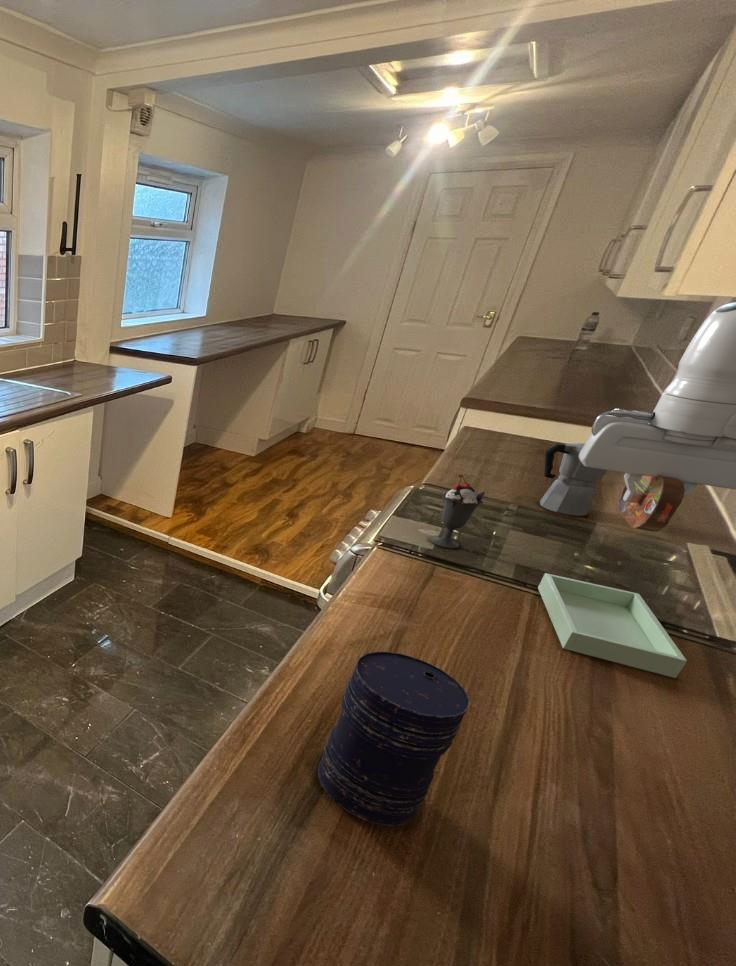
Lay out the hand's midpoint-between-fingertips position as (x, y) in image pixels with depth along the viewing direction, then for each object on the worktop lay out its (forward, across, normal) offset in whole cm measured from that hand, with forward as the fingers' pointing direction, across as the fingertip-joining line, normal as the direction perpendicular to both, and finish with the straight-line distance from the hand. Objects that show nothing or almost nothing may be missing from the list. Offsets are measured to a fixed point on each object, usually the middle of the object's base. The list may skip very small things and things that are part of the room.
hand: (646, 504), depth 91 cm
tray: (+19, 0, -8) cm, 21 cm away
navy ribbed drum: (+19, -31, -65) cm, 75 cm away
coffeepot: (+19, +4, +55) cm, 59 cm away
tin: (+3, 0, 0) cm, 3 cm away
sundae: (+19, -20, +15) cm, 32 cm away
